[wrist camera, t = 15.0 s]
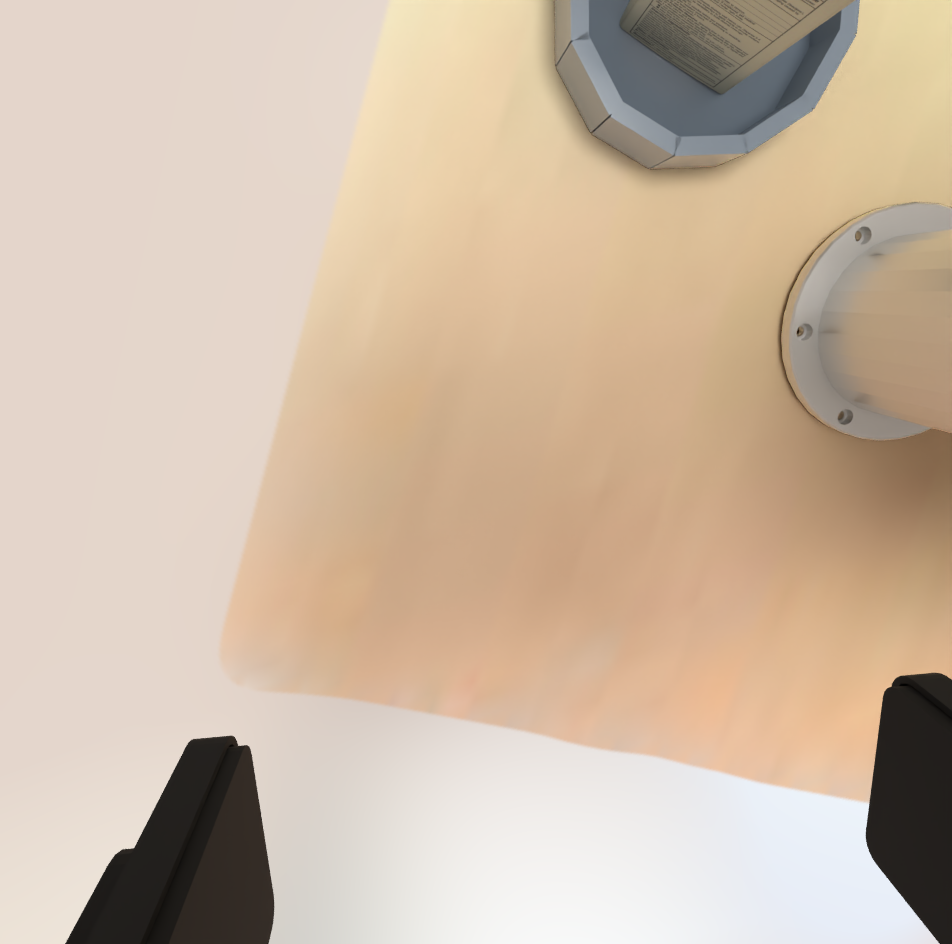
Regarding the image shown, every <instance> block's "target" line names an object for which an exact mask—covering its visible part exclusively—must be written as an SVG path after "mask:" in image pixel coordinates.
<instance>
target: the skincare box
mask: <svg viewBox="0 0 952 944" xmlns="http://www.w3.org/2000/svg"><path fill="white" fill-rule="evenodd" d="M853 1H855V0H630V2H629V4H628V5H627V7H626V9H625V11H624V13H623V15H622V17H621V19H620V27H621V28H622V29H623V30H625V31H626V32H627V33H629V34H630V35H631V36H633V37H634V38H635V39H637V40H638V41H640V42H641V43H643V44H644V45H645V46H647V47H648V48H650V49H651V50H653V51H654V52H656V53H657V54H659V55H660V56H661V57H663V58H664V59H666V60H667V61H669V62H671V63H672V64H674V65H675V66H677V67H678V68H680V69H681V70H683V71H684V72H686V73H687V74H689V75H690V76H692V77H694V78H695V79H697V80H698V81H700V82H702V83H703V84H705V85H706V86H708V87H710V88H711V89H713V90H715V91H716V92H718V93H720V94H724V93H726V92H727V91H728V90H730V89H731V88H733V87H734V86H735V85H737V84H738V83H740V82H741V81H742V80H744V79H745V78H747V77H748V76H749V75H751V74H752V73H754V72H755V71H757V70H758V69H759V68H761V67H762V66H763V65H765V64H766V63H768V62H769V61H771V60H772V59H773V58H775V57H776V56H778V55H779V54H780V53H782V52H783V51H785V50H786V49H787V48H789V47H790V46H792V45H793V44H794V43H796V42H797V41H799V40H800V39H802V38H803V37H804V36H806V35H807V34H808V33H810V32H811V31H813V30H814V29H815V28H817V27H818V26H820V25H821V24H823V23H824V22H825V21H827V20H828V19H830V18H831V17H832V16H834V15H835V14H836V13H838V12H839V11H841V10H842V9H844V8H845V7H847V6H848V5H849V4H851V3H852V2H853Z"/></svg>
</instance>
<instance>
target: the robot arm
mask: <svg viewBox="0 0 952 944" xmlns="http://www.w3.org/2000/svg"><path fill="white" fill-rule="evenodd" d="M855 234H856V239H855ZM798 328H799V333H798V334H797V333H796V332H797V329H798ZM781 343H782V358H783V363H784V366H785V370H786V374H787V378H788V380H789V382H790V384H791V386H792V388H793V390H794V392H795V394H796V396H797V398H798V399H799V400H800V402H801V403H802V404H803V405H804V407H805V408H806V409H807V410H808V412H809V413H811V414H812V415H813V416H814V417H816V418H817V419H818V420H819V421H821V422H822V423H823V424H825V425H827V426H829V427H831V428H833V429H835V430H837V431H839V432H841V433H844V434H848V435H851V436H854V437H857V438H862V439H869V440H877V441H882V440H897V439H902V438H906V437H910V436H914V435H918V434H921V433H923V432H925V431H927V430H929V429H932V428H933V429H937V430H941V431H944V432H948V433H952V207H949V206H945V205H942V204H939V203H925V202H912V203H905V204H897V205H892V206H888V207H884V208H880V209H876V210H873V211H870V212H868V213H866V214H864V215H862V216H860V217H858V218H855V219H853V220H851V221H850V222H848V223H847V224H846V225H844V226H843V227H841V228H840V229H839V230H837V231H836V232H834V233H833V234H832V235H831V236H830V237H829V238H828V239H827V240H826V241H825V242H824V243H823V244H822V245H821V246H820V247H819V248H818V249H817V250H816V251H815V252H814V253H813V255H812V256H811V258H810V259H809V260H808V262H807V263H806V265H805V266H804V267H803V269H802V270H801V272H800V274H799V276H798V278H797V280H796V282H795V284H794V286H793V288H792V290H791V292H790V296H789V299H788V302H787V306H786V309H785V312H784V317H783V326H782V334H781ZM838 415H839V416H838ZM866 842H867V846H868V849H869V852H870V854H871V856H872V858H873V860H874V861H875V863H876V864H877V865H878V867H879V868H880V869H881V871H882V872H883V873H884V874H885V875H886V877H887V878H888V879H889V881H890V882H891V883H892V884H893V886H894V887H895V888H896V889H897V890H898V892H899V893H900V894H901V896H902V897H903V898H904V899H905V901H906V902H907V903H908V904H909V906H910V907H911V908H912V909H913V911H914V912H915V913H916V914H917V916H918V917H919V918H920V920H921V921H922V922H923V923H924V925H925V926H926V927H927V928H928V929H929V931H930V932H931V933H932V935H933V936H934V937H935V938H936V940H937V941H938V942H939V943H940V944H952V680H951V679H950V678H948V677H947V676H945V675H943V674H940V673H928V674H917V675H905V676H900V677H897V678H896V679H895V680H894V682H893V683H892V687H890V688H887V689H886V691H885V692H884V696H883V702H882V710H881V717H880V725H879V733H878V741H877V749H876V757H875V765H874V772H873V780H872V788H871V796H870V804H869V812H868V820H867V827H866ZM273 917H274V895H273V889H272V882H271V876H270V869H269V863H268V856H267V850H266V844H265V837H264V831H263V825H262V818H261V812H260V805H259V799H258V792H257V786H256V780H255V773H254V767H253V761H252V754H251V750H250V748H249V746H247V745H244V746H238V744H237V741H236V739H235V737H233V736H224V737H212V738H201V739H193V740H191V741H190V742H189V743H188V745H187V746H186V748H185V750H184V752H183V754H182V756H181V758H180V760H179V762H178V764H177V766H176V768H175V770H174V772H173V773H172V775H171V777H170V780H169V781H168V783H167V785H166V787H165V789H164V791H163V793H162V795H161V797H160V799H159V801H158V803H157V805H156V807H155V809H154V811H153V813H152V815H151V817H150V818H149V820H148V822H147V824H146V826H145V828H144V830H143V832H142V834H141V836H140V838H139V840H138V842H137V844H136V846H135V848H133V849H123V850H121V851H120V852H118V853H117V854H116V855H115V856H114V857H113V859H112V860H111V862H110V863H109V864H108V866H107V868H106V870H105V872H104V873H103V875H102V877H101V879H100V881H99V883H98V884H97V886H96V888H95V890H94V892H93V894H92V896H91V897H90V899H89V901H88V903H87V905H86V907H85V908H84V910H83V912H82V914H81V916H80V918H79V920H78V921H77V923H76V925H75V927H74V929H73V931H72V932H71V934H70V936H69V938H68V940H67V942H66V943H65V944H268V943H269V939H270V934H271V930H272V925H273Z"/></svg>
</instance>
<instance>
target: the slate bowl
mask: <svg viewBox="0 0 952 944" xmlns="http://www.w3.org/2000/svg"><path fill="white" fill-rule="evenodd" d="M554 2H555V66H557V67H556V69H557V71H558V73H559V75H560V77H561V78H562V80H563V82H564V84H565V86H566V88H567V90H568V92H569V94H570V95H571V97H572V99H573V101H574V103H575V105H576V107H577V109H578V110H579V112H580V114H581V116H582V118H583V120H584V122H585V124H586V126H587V127H588V129H589V131H590V133H591V132H592V131H593V132H592V135H594V136H595V137H597V138H599V139H600V140H602V141H604V142H605V143H607V144H609V145H610V146H612V147H614V148H615V149H617V150H618V151H620V152H622V153H623V154H625V155H627V156H628V157H630V158H632V159H633V160H635V161H637V162H638V163H640V164H642V165H643V166H645V167H646V168H648V169H649V168H650V169H667V168H694V167H715V166H718V165H721V164H723V163H725V162H728V161H730V160H733V159H735V158H737V157H740V156H742V155H744V154H747V153H749V152H750V151H752V150H753V149H755V148H757V147H758V146H760V145H761V144H763V143H764V142H766V141H767V140H769V139H770V138H772V137H773V136H775V135H776V134H778V133H779V132H781V131H782V130H784V129H785V128H787V127H788V126H790V125H791V124H793V123H794V122H796V121H797V120H799V119H800V118H802V117H803V116H805V115H806V114H808V113H810V112H811V111H813V109H814V108H815V106H816V105H817V103H818V101H819V99H820V98H821V96H822V94H823V92H824V91H825V89H826V87H827V85H828V84H829V82H830V80H831V78H832V77H833V75H834V73H835V71H836V70H837V68H838V66H839V64H840V63H841V61H842V59H843V57H844V56H845V54H846V52H847V50H848V49H849V47H850V45H851V43H852V42H853V40H854V38H855V36H856V35H855V34H856V33H857V25H858V14H859V3H860V0H855V1H853V2H852V3H851V4H849V5H848V6H847V7H845V8H844V9H842V10H841V11H839V12H838V13H836V14H835V15H834V16H832V17H831V18H830V19H828V20H827V21H825V22H824V23H823V24H821V25H820V26H818V27H817V28H815V29H814V30H813V31H811V32H810V33H808V34H807V35H806V36H804V37H803V38H802V39H800V40H799V41H797V42H796V43H794V44H793V45H792V46H790V47H789V48H787V49H786V50H785V51H783V52H782V53H780V54H779V55H778V56H776V57H775V58H773V59H772V60H771V61H769V62H768V63H766V64H765V65H763V66H762V67H761V68H759V69H758V70H757V71H755V72H754V73H752V74H751V75H749V76H748V77H747V78H745V79H744V80H742V81H741V82H740V83H738V84H737V85H735V86H734V87H733V88H731V89H730V90H728V91H727V92H726V93H724V94H720V93H718V92H716V91H715V90H713V89H711V88H710V87H708V86H706V85H705V84H703V83H702V82H700V81H698V80H697V79H695V78H694V77H692V76H690V75H689V74H687V73H686V72H684V71H683V70H681V69H680V68H678V67H677V66H675V65H674V64H672V63H671V62H669V61H667V60H666V59H664V58H663V57H661V56H660V55H659V54H657V53H656V52H654V51H653V50H651V49H650V48H648V47H647V46H645V45H644V44H643V43H641V42H640V41H638V40H637V39H635V38H634V37H633V36H631V35H630V34H629V33H627V32H626V31H625V30H623V29H622V28H621V27H620V19H621V17H622V15H623V13H624V11H625V9H626V7H627V5H628V4H629V2H630V0H554Z"/></svg>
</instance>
